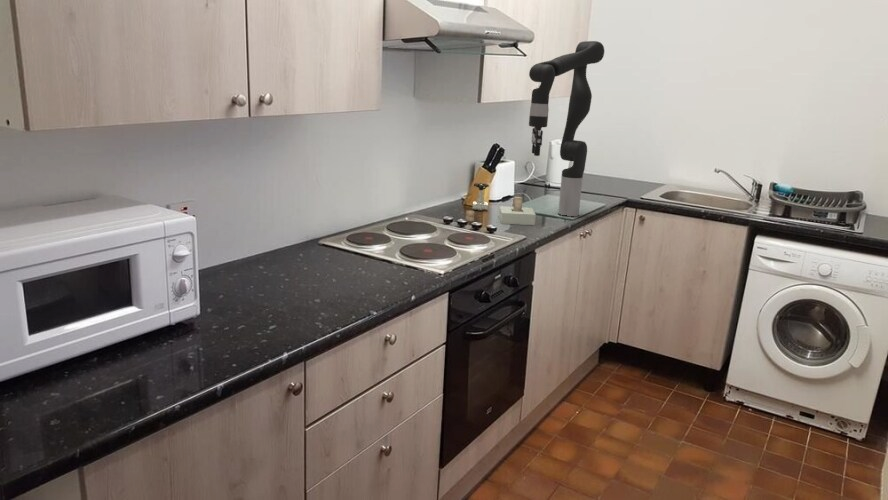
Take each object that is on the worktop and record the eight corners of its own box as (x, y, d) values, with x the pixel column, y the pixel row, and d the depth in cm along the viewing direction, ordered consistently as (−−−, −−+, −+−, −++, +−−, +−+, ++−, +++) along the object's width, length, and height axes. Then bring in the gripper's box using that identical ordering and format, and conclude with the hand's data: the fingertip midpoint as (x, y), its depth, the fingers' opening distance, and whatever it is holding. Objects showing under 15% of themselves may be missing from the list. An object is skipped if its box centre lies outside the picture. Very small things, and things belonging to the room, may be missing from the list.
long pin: (512, 219, 277) (513, 196, 275) (520, 220, 277) (522, 197, 275) (512, 221, 274) (514, 198, 271) (521, 222, 274) (522, 198, 271)
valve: (487, 212, 290) (489, 185, 287) (472, 211, 290) (474, 185, 287) (486, 209, 297) (488, 183, 294) (472, 208, 297) (473, 182, 293)
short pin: (465, 219, 274) (465, 210, 273) (473, 219, 274) (474, 210, 273) (465, 221, 271) (466, 211, 269) (473, 221, 271) (474, 212, 269)
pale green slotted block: (499, 216, 283) (499, 206, 282) (531, 218, 283) (532, 207, 281) (501, 223, 269) (501, 212, 268) (534, 225, 269) (535, 214, 268)
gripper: (550, 116, 259) (546, 157, 264) (545, 114, 273) (542, 153, 277) (531, 115, 259) (528, 156, 264) (527, 113, 273) (524, 152, 277)
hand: (535, 154), depth 270 cm, fingers open, 8 cm apart
